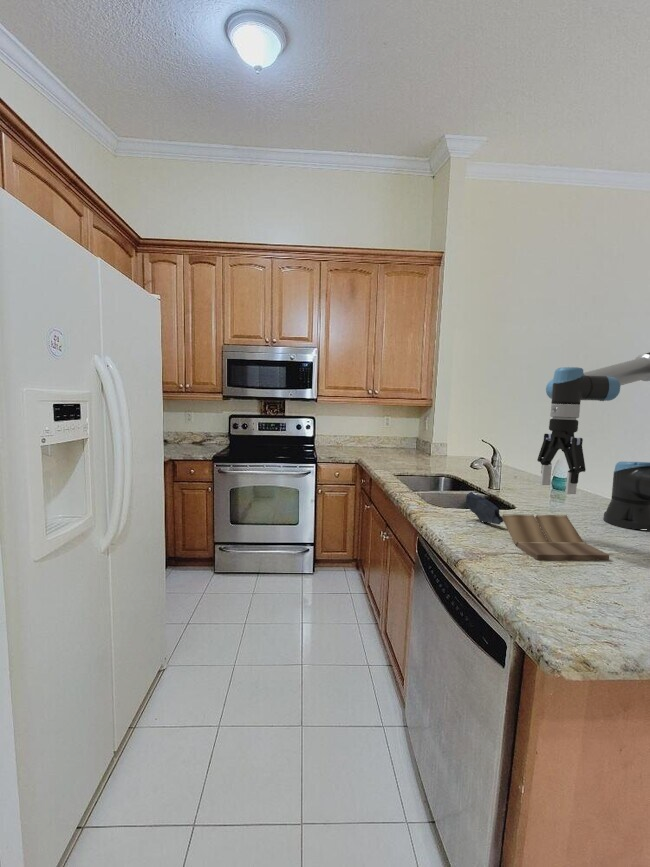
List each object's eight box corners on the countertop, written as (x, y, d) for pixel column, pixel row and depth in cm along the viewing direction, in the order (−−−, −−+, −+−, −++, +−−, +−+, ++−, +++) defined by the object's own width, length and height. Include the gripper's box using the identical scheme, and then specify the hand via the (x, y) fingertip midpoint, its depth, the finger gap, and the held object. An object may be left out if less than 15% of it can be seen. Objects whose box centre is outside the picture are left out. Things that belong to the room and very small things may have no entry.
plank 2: (563, 518, 123) (566, 515, 122) (581, 545, 115) (584, 542, 114) (535, 517, 122) (537, 514, 121) (550, 544, 114) (553, 541, 113)
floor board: (584, 547, 114) (584, 542, 114) (608, 560, 105) (609, 554, 105) (517, 547, 112) (517, 541, 112) (536, 560, 103) (537, 554, 103)
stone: (506, 526, 131) (508, 497, 130) (501, 530, 127) (503, 500, 126) (466, 516, 140) (468, 490, 139) (459, 520, 135) (461, 492, 135)
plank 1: (531, 517, 122) (533, 514, 121) (546, 544, 114) (548, 541, 113) (501, 517, 121) (503, 514, 120) (515, 544, 113) (517, 541, 112)
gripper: (529, 416, 128) (523, 480, 130) (580, 420, 105) (573, 498, 107) (550, 417, 129) (544, 481, 131) (606, 421, 106) (598, 499, 108)
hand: (557, 489), depth 119 cm, fingers open, 11 cm apart
